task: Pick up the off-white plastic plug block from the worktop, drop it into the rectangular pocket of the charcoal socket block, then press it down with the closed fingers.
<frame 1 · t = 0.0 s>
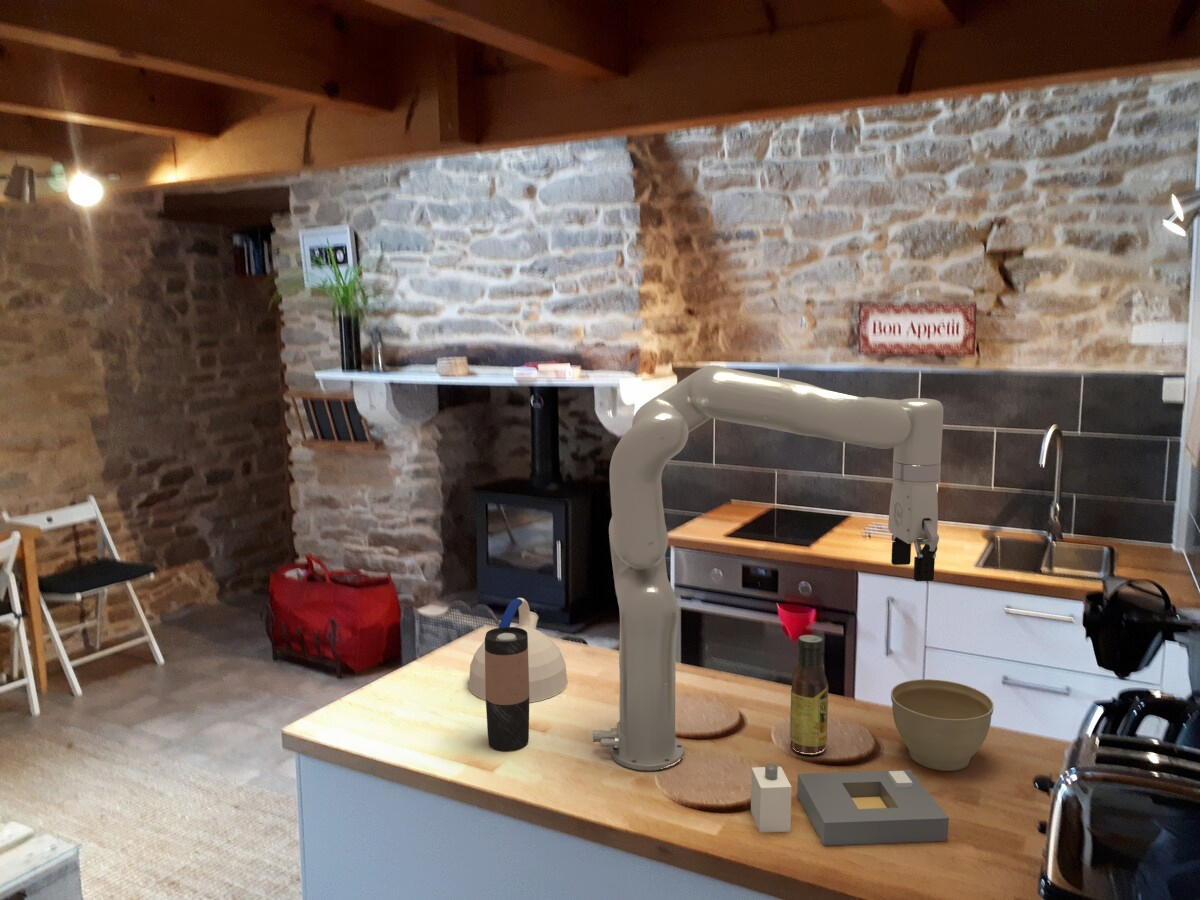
hand: (911, 572, 156), 31 cm above the kitchen island, tool pointing down, fingers open, 9 cm apart
socket: (868, 816, 138), on the kitchen island
planter bowl: (938, 759, 156), on the kitchen island
kettle: (518, 685, 188), on the kitchen island
sauce bottle: (807, 749, 160), on the kitchen island
plug: (770, 820, 137), on the kitchen island
travel mug: (508, 743, 163), on the kitchen island
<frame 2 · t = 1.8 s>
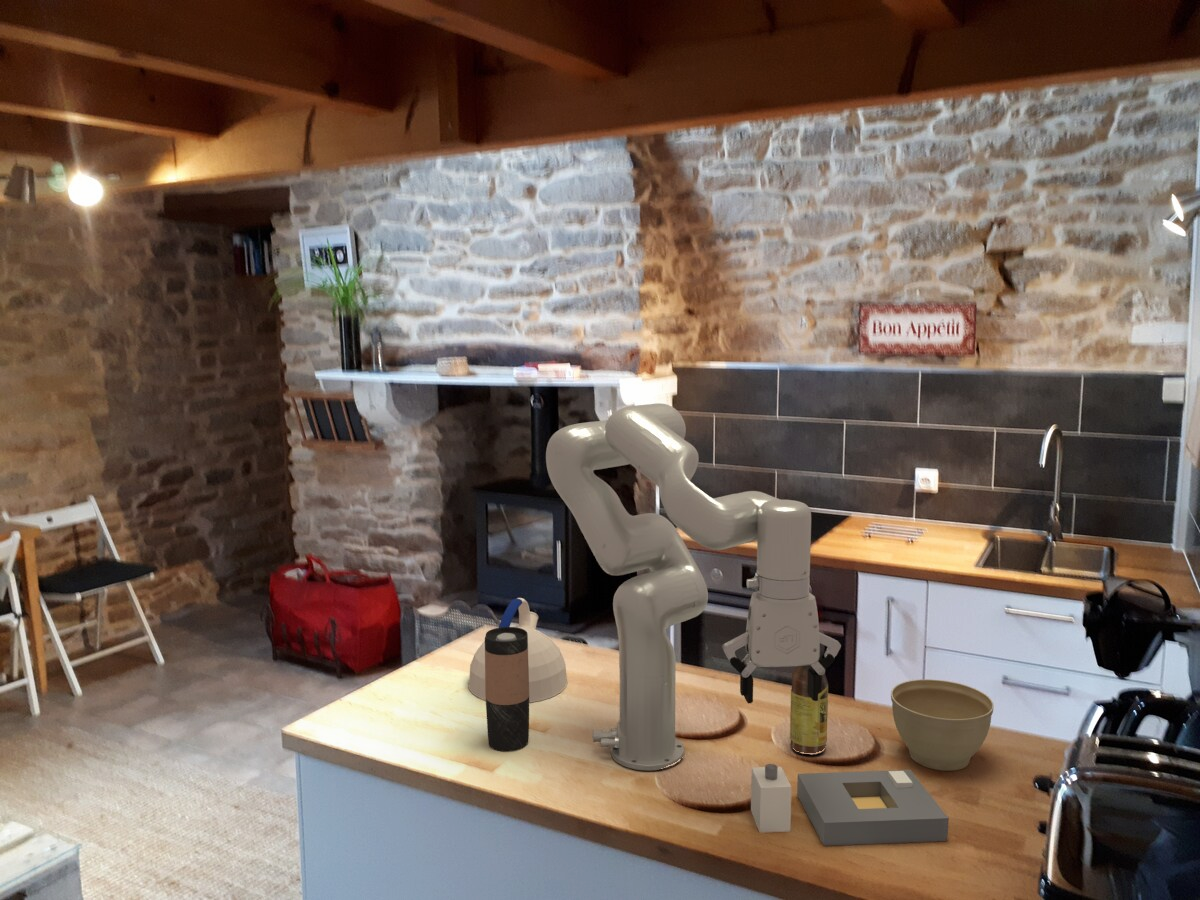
hand: (780, 698, 135), 19 cm above the kitchen island, tool pointing down, fingers open, 9 cm apart
nothing on the kitchen island moved.
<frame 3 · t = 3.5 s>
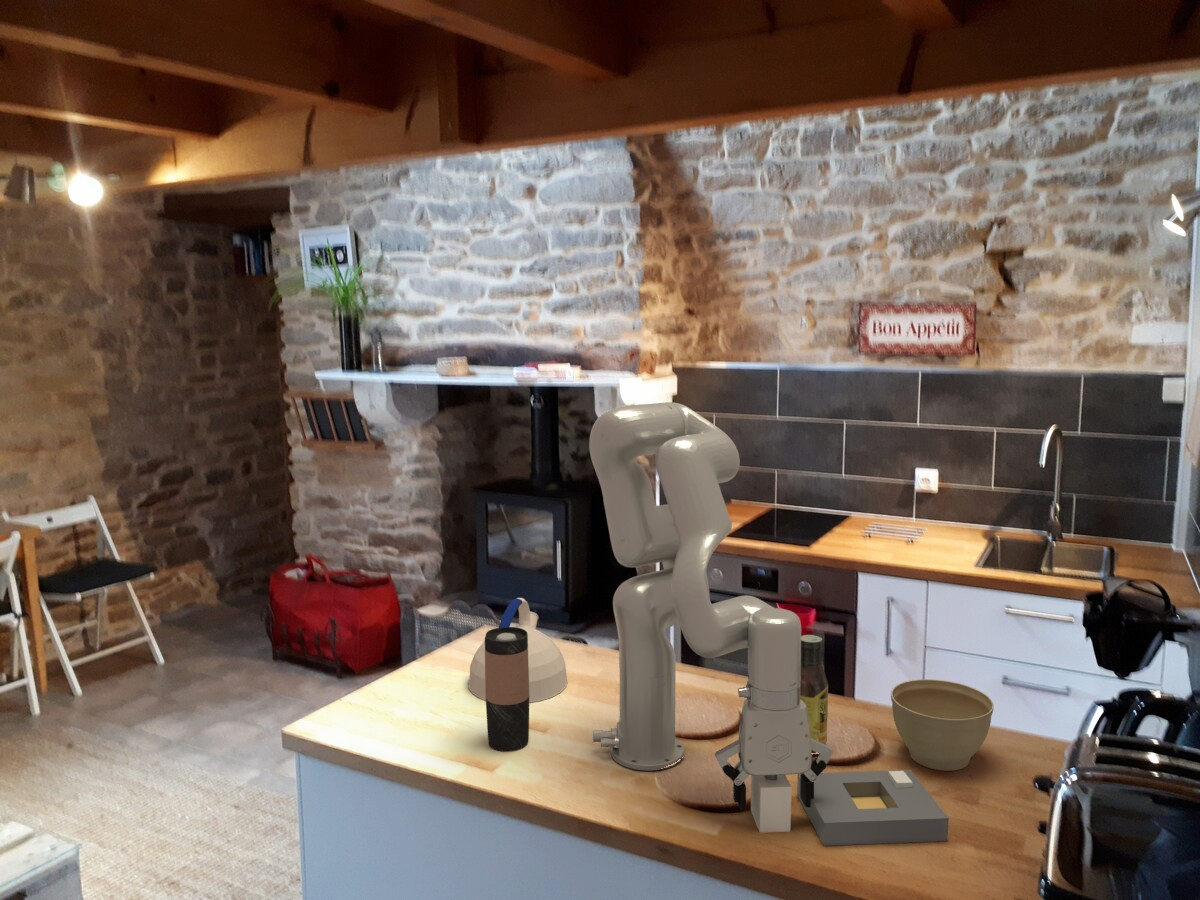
hand: (773, 804, 136), 3 cm above the kitchen island, tool pointing down, fingers open, 9 cm apart
nothing on the kitchen island moved.
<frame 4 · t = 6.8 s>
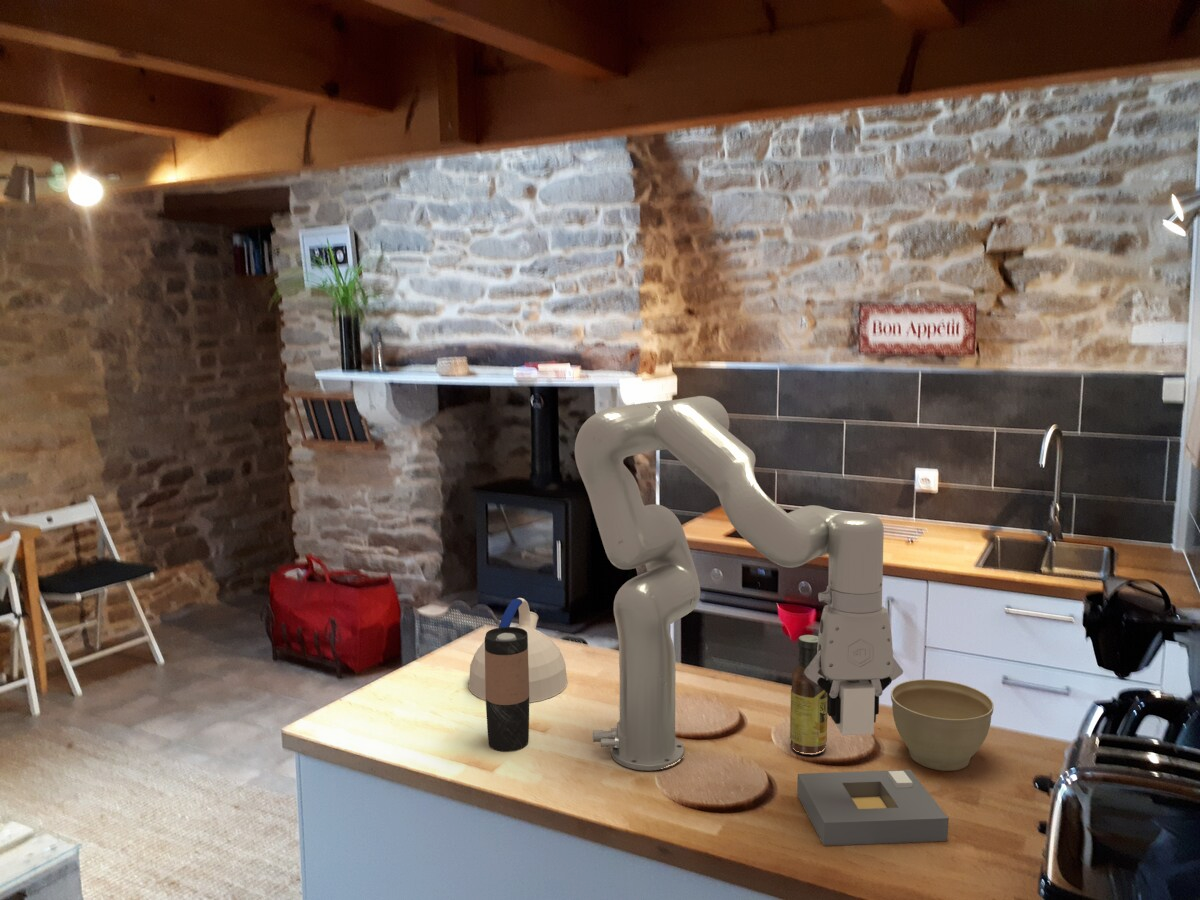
hand: (852, 718, 135), 16 cm above the kitchen island, tool pointing down, fingers closed on plug, 4 cm apart
plug: (851, 725, 136), point 15 cm above the kitchen island, touching gripper
everything else where it was.
when the fingers open (5 cm above the kitchen island, at t = 9.4 s): plug drops 3 cm, resting on socket.
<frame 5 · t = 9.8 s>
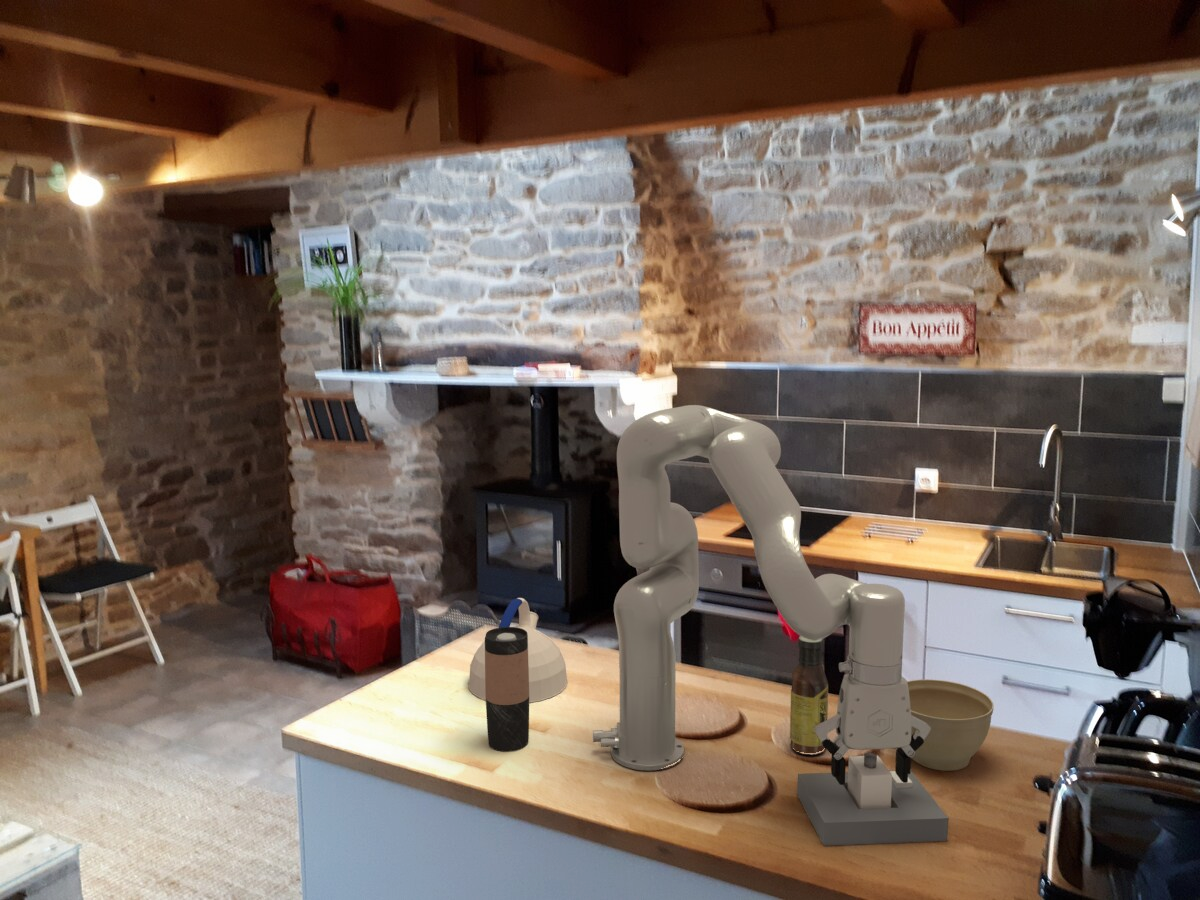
hand: (870, 779, 137), 6 cm above the kitchen island, tool pointing down, fingers open, 9 cm apart
plug: (868, 809, 138), point 1 cm above the kitchen island, touching socket
everything else where it was.
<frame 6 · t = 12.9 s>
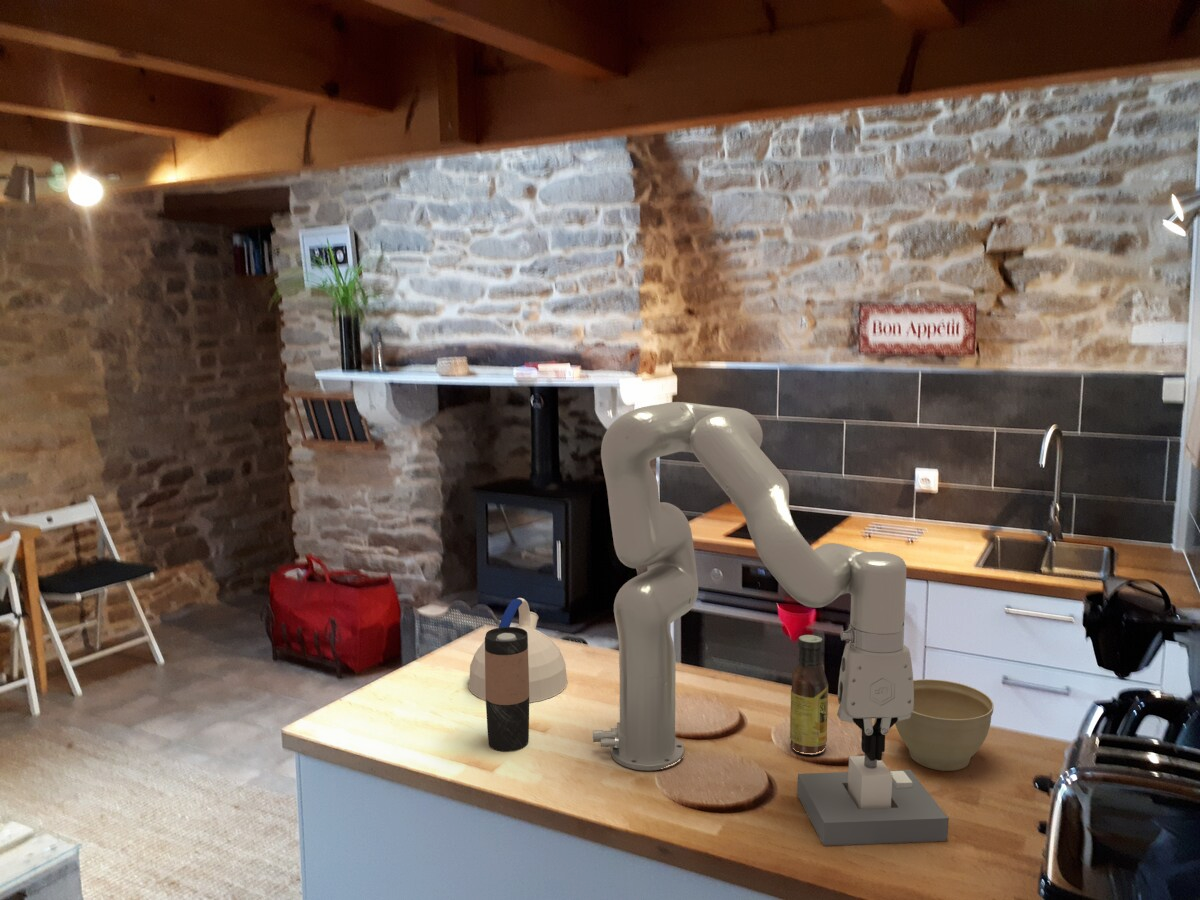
hand: (872, 756, 137), 10 cm above the kitchen island, tool pointing down, fingers closed
plug: (868, 809, 138), point 1 cm above the kitchen island, touching gripper, socket
everything else where it was.
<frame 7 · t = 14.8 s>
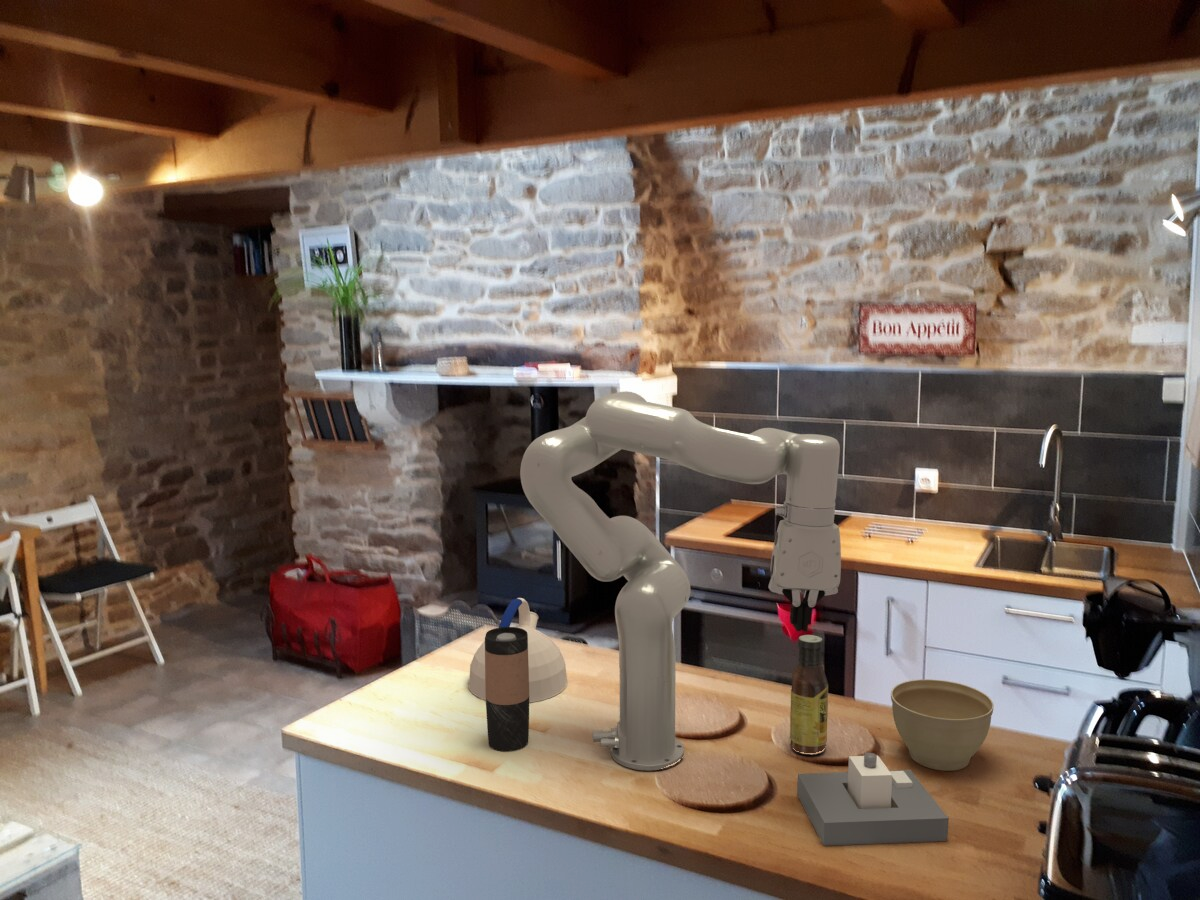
hand: (799, 628, 145), 26 cm above the kitchen island, tool pointing down, fingers closed
plug: (868, 809, 138), point 1 cm above the kitchen island, touching socket
everything else where it was.
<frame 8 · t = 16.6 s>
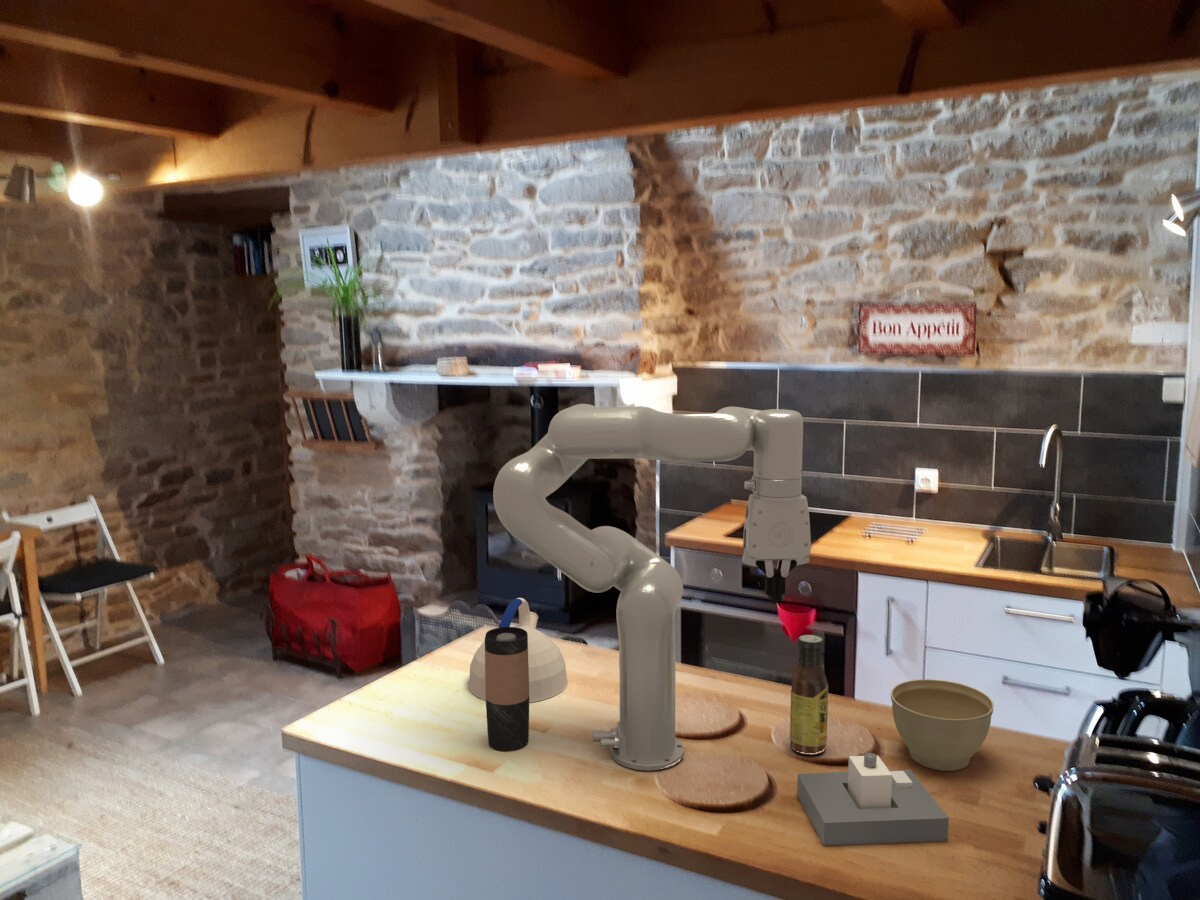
hand: (774, 598, 149), 29 cm above the kitchen island, tool pointing down, fingers closed
nothing on the kitchen island moved.
at the end: plug 0.2 cm off-centre on the socket, point 1.1 cm above the socket's base; plug tilted 0°; the gripper is holding nothing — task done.
